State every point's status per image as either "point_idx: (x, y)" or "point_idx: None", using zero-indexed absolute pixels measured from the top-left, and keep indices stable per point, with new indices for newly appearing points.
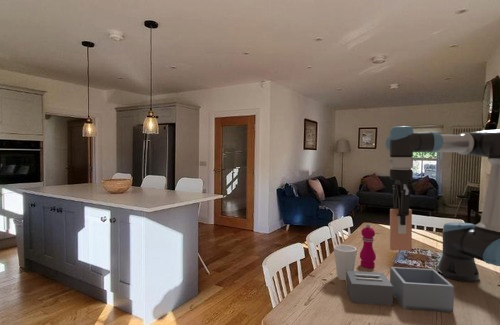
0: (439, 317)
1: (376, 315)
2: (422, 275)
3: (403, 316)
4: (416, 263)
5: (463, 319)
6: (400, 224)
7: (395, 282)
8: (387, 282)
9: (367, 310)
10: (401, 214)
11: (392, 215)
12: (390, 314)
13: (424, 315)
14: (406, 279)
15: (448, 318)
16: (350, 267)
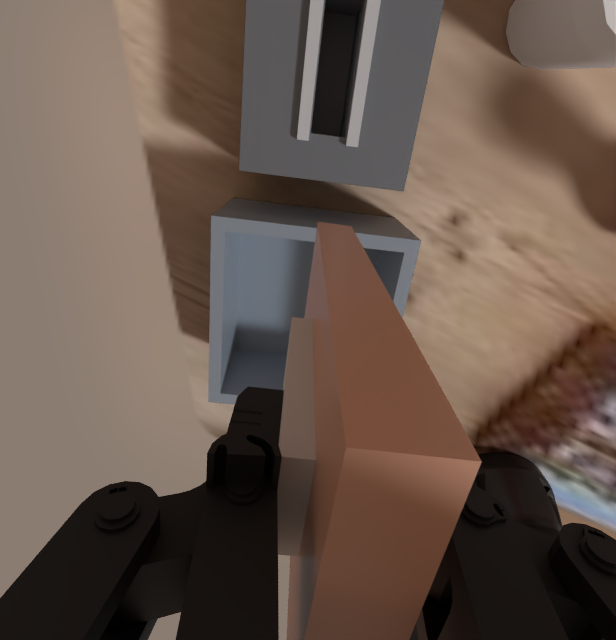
0: (190, 294)
1: (162, 54)
2: None
3: (175, 172)
4: (612, 428)
5: (190, 355)
6: (274, 389)
7: (328, 220)
8: (282, 161)
9: (198, 25)
10: (87, 498)
11: (328, 376)
12: (181, 124)
13: (195, 253)
14: None
15: (188, 318)
16: (537, 19)
